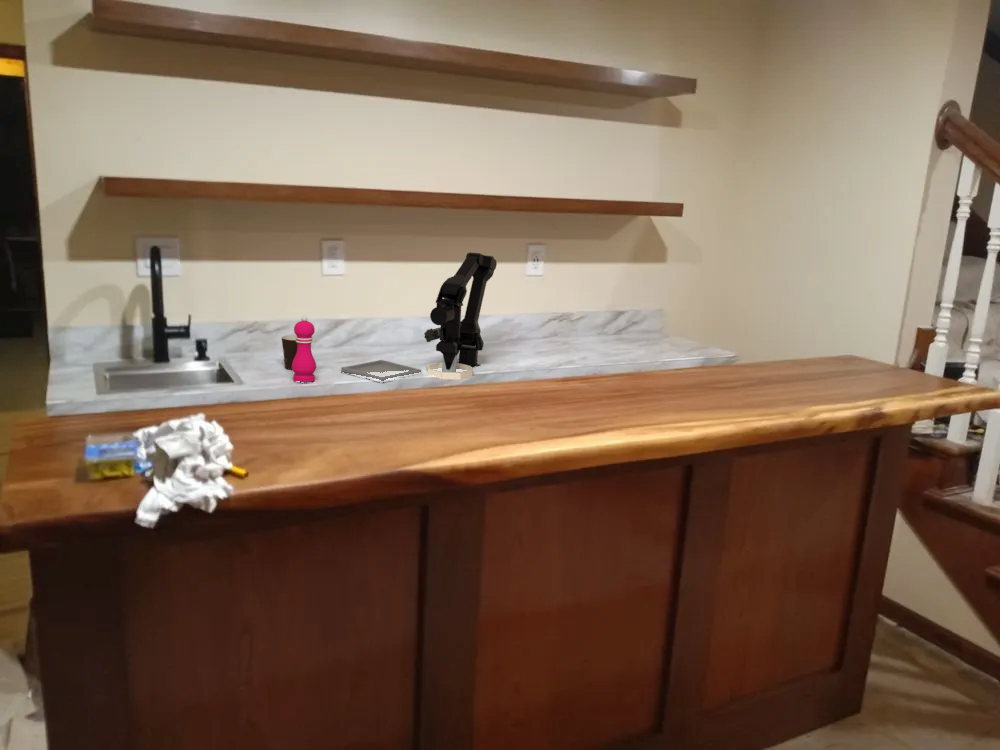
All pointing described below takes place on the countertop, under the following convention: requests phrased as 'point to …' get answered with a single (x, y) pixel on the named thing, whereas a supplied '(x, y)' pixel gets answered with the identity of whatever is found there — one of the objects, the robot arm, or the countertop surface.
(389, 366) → the tray
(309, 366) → the pepper mill
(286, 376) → the countertop surface
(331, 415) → the countertop surface
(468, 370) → the bowl
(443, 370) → the peg
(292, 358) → the coffee mug
